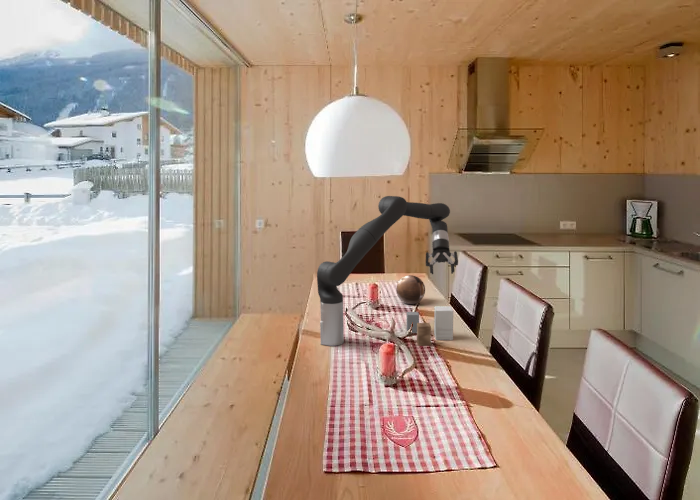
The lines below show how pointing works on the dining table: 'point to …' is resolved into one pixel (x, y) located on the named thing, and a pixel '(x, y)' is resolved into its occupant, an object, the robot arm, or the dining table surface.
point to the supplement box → (443, 322)
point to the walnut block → (423, 334)
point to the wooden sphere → (410, 289)
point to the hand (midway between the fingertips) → (442, 273)
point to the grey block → (412, 318)
